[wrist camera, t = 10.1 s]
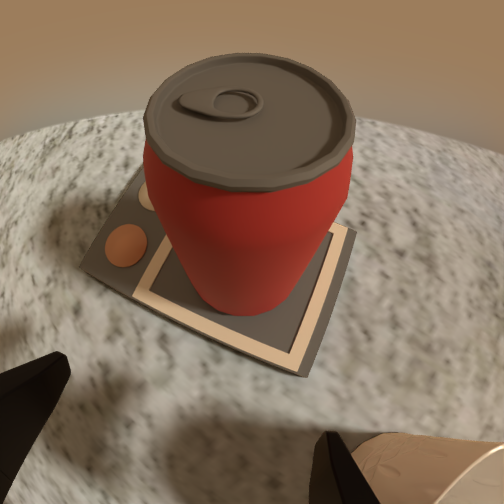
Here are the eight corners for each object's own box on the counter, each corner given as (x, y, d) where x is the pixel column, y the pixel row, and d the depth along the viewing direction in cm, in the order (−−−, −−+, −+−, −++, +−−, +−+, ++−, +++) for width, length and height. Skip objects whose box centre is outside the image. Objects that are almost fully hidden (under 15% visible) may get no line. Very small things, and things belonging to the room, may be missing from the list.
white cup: (366, 536, 11) (435, 602, 2) (299, 485, 13) (352, 572, 4) (443, 459, 14) (542, 480, 4) (389, 400, 16) (502, 407, 6)
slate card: (303, 377, 16) (307, 377, 15) (85, 271, 18) (77, 266, 17) (352, 238, 20) (357, 230, 19) (155, 163, 22) (152, 153, 21)
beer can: (201, 210, 19) (171, 42, 8) (301, 224, 19) (360, 63, 8) (179, 308, 17) (80, 190, 6) (292, 325, 16) (390, 231, 5)
